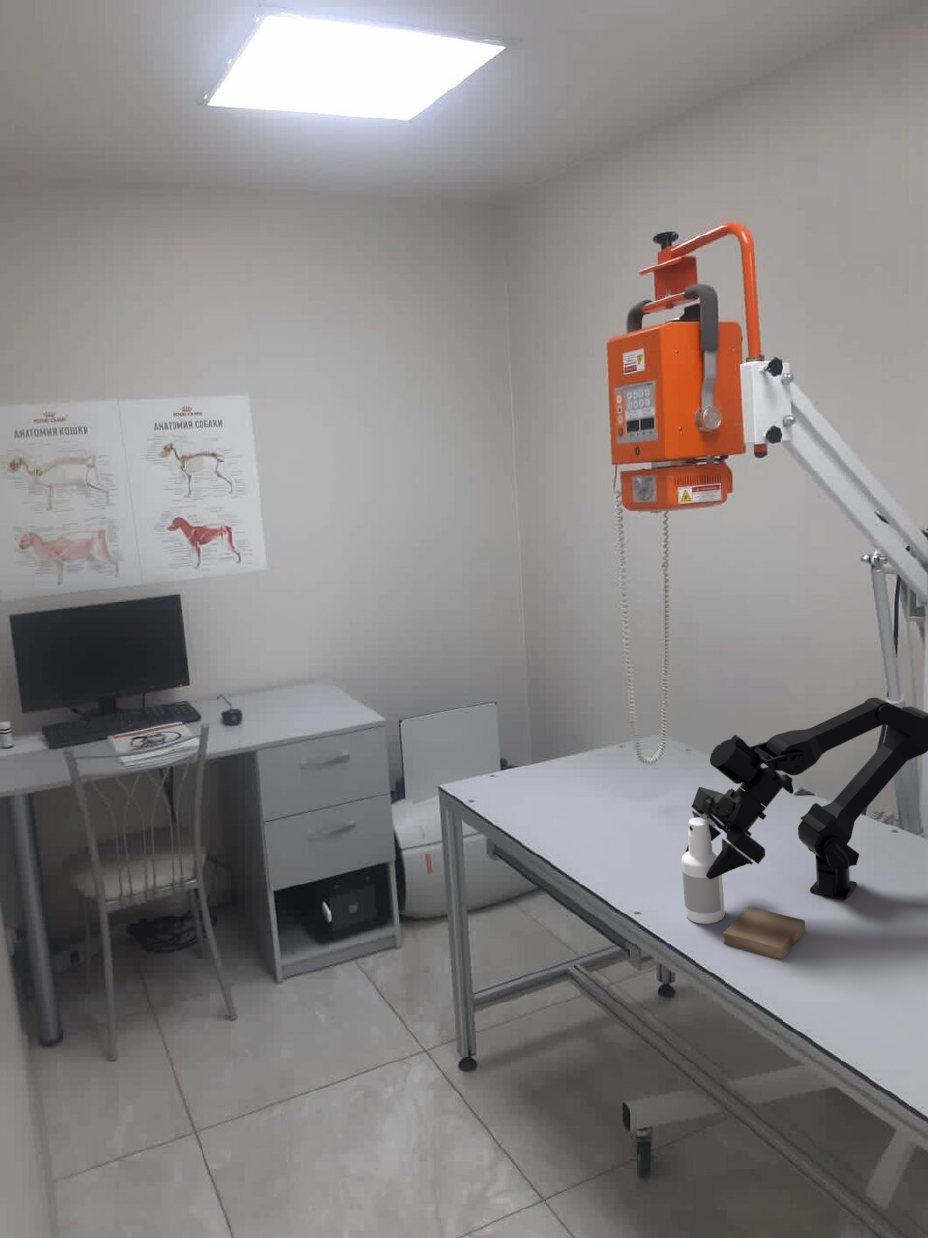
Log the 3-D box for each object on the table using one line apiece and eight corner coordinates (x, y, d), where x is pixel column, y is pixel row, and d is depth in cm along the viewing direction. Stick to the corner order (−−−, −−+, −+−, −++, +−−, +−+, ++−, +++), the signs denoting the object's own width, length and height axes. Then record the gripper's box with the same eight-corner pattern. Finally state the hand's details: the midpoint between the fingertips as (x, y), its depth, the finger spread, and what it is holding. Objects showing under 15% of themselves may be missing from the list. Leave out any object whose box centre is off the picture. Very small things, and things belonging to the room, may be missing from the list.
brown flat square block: (749, 916, 173) (748, 906, 172) (805, 931, 166) (804, 920, 166) (724, 943, 165) (723, 933, 165) (781, 959, 159) (781, 948, 158)
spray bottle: (677, 912, 177) (670, 820, 173) (708, 901, 179) (702, 810, 176) (701, 929, 170) (694, 833, 167) (732, 917, 173) (726, 822, 169)
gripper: (698, 755, 179) (645, 821, 180) (744, 791, 161) (685, 865, 162) (741, 788, 182) (688, 853, 183) (790, 827, 164) (732, 899, 165)
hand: (697, 866), depth 173 cm, fingers open, 9 cm apart
